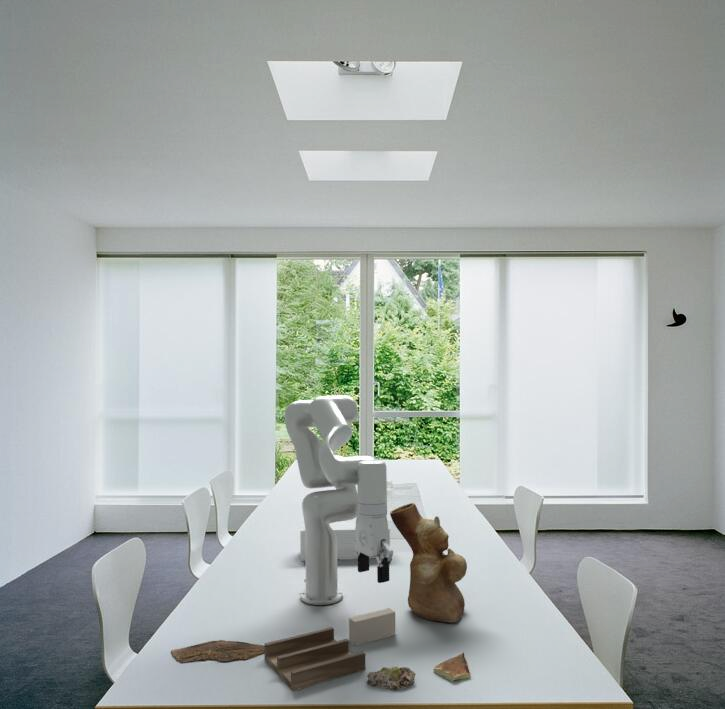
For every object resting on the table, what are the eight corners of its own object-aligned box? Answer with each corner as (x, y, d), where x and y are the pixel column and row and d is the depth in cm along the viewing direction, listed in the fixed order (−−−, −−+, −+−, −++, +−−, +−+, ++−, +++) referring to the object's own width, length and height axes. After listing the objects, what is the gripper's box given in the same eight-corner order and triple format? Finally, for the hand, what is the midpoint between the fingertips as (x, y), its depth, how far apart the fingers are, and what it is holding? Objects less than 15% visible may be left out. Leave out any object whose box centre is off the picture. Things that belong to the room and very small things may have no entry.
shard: (463, 658, 150) (463, 651, 150) (489, 670, 144) (489, 662, 144) (432, 673, 143) (432, 665, 143) (457, 686, 137) (457, 678, 137)
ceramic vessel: (461, 628, 165) (460, 514, 166) (382, 617, 173) (382, 508, 173) (472, 606, 180) (471, 502, 180) (399, 597, 188) (398, 496, 188)
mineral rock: (411, 660, 144) (416, 667, 136) (412, 681, 142) (418, 689, 135) (364, 664, 143) (367, 671, 135) (365, 685, 141) (368, 694, 134)
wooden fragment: (164, 665, 147) (164, 660, 147) (176, 643, 158) (176, 639, 158) (274, 662, 148) (274, 658, 148) (279, 641, 159) (279, 637, 159)
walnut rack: (264, 659, 149) (264, 643, 149) (331, 641, 158) (331, 626, 158) (293, 690, 135) (293, 673, 135) (365, 669, 144) (365, 653, 144)
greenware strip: (349, 641, 158) (349, 617, 158) (389, 631, 164) (389, 608, 165) (355, 646, 156) (354, 621, 156) (395, 635, 162) (395, 611, 162)
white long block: (386, 549, 236) (386, 521, 236) (390, 558, 225) (389, 528, 225) (301, 552, 233) (301, 523, 233) (300, 561, 222) (300, 530, 223)
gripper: (343, 504, 166) (344, 569, 165) (377, 517, 151) (378, 589, 151) (367, 501, 170) (368, 565, 169) (403, 513, 155) (404, 583, 154)
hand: (373, 576), depth 160 cm, fingers open, 9 cm apart
